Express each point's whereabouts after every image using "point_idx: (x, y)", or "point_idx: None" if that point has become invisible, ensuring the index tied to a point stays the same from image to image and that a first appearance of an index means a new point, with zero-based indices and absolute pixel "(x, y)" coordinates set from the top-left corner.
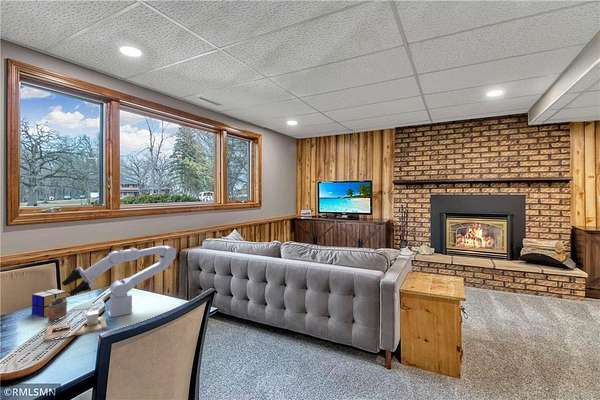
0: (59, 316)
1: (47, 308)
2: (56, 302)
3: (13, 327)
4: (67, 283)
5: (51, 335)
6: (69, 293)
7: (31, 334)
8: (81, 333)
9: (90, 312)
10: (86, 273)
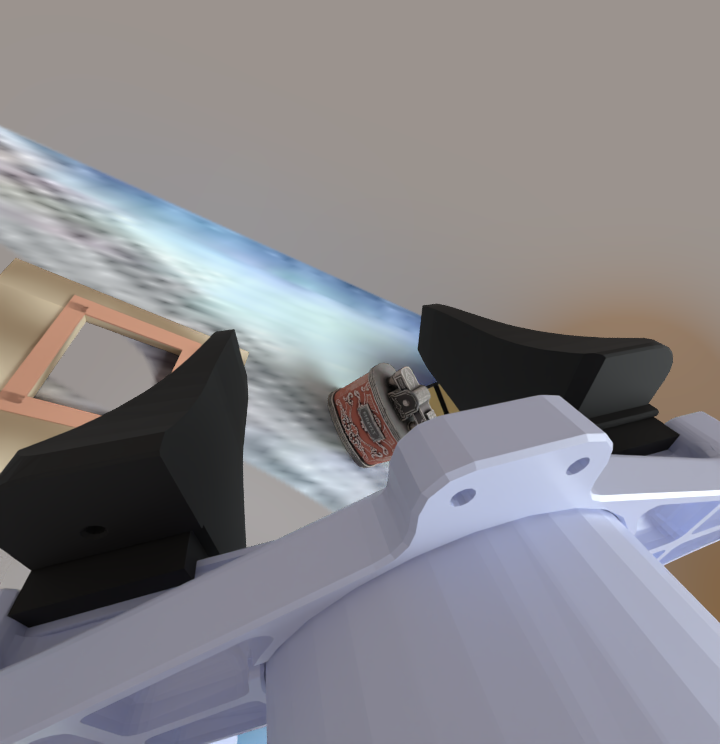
0: (346, 427)
1: (431, 401)
2: (396, 392)
3: (361, 305)
4: (433, 358)
5: (57, 305)
6: (216, 333)
7: (228, 297)
8: None
9: (11, 560)
10: (418, 598)
